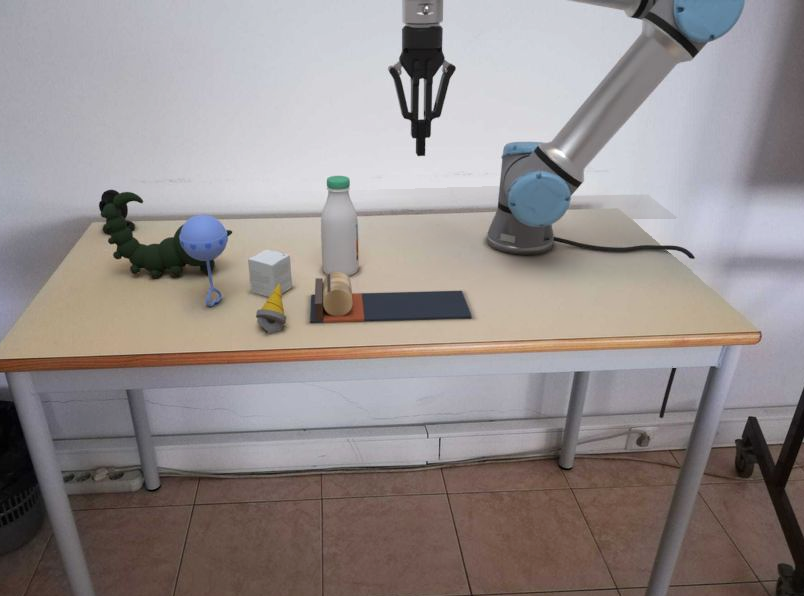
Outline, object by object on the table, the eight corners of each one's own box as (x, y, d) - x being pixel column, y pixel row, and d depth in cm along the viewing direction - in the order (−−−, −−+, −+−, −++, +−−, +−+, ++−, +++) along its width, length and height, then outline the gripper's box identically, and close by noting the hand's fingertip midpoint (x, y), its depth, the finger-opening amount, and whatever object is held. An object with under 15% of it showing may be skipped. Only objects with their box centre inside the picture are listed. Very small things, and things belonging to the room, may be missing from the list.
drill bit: (249, 332, 123) (261, 282, 126) (276, 341, 125) (288, 290, 128) (256, 327, 118) (269, 274, 121) (285, 335, 120) (297, 283, 123)
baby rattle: (213, 319, 127) (201, 227, 118) (180, 308, 131) (165, 218, 122) (244, 301, 133) (235, 213, 124) (211, 291, 137) (200, 205, 128)
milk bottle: (354, 279, 142) (352, 184, 132) (318, 276, 143) (314, 182, 133) (362, 264, 149) (361, 173, 138) (327, 262, 150) (324, 171, 140)
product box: (269, 281, 141) (266, 248, 137) (293, 287, 138) (291, 254, 135) (250, 292, 137) (247, 258, 133) (274, 299, 134) (272, 265, 130)
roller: (356, 287, 133) (340, 266, 130) (358, 306, 126) (341, 284, 123) (333, 302, 134) (317, 281, 131) (334, 321, 127) (316, 300, 125)
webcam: (96, 231, 167) (87, 191, 162) (120, 222, 172) (112, 183, 167) (118, 237, 163) (109, 196, 158) (142, 228, 169) (134, 188, 163)
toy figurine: (118, 290, 141) (237, 277, 142) (90, 203, 132) (218, 188, 132) (128, 272, 149) (242, 259, 150) (103, 188, 140) (224, 174, 140)
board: (461, 292, 136) (462, 274, 134) (471, 318, 127) (473, 299, 125) (311, 296, 135) (310, 278, 133) (310, 323, 125) (309, 303, 123)
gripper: (389, 28, 121) (390, 160, 133) (461, 25, 122) (456, 157, 134) (384, 24, 128) (386, 151, 140) (453, 22, 129) (448, 148, 141)
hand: (420, 154), depth 137 cm, fingers closed
